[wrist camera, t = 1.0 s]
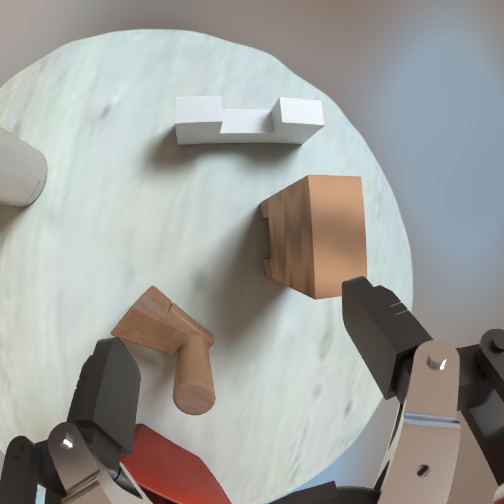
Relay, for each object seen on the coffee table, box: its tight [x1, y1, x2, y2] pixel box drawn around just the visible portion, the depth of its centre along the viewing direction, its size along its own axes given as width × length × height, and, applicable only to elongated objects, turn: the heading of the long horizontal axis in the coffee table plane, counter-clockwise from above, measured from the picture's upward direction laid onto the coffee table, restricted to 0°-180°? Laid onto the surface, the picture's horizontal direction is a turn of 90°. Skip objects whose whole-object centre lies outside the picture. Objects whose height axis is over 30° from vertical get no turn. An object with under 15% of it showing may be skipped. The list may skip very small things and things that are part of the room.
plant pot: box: [120, 424, 231, 504], centre depth 31 cm, size 19×19×17 cm
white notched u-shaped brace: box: [175, 96, 324, 145], centre depth 36 cm, size 18×4×8 cm, turn 93°
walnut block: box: [261, 175, 367, 300], centre depth 33 cm, size 10×5×18 cm, turn 3°
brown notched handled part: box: [111, 286, 215, 415], centre depth 30 cm, size 4×11×18 cm, turn 48°
